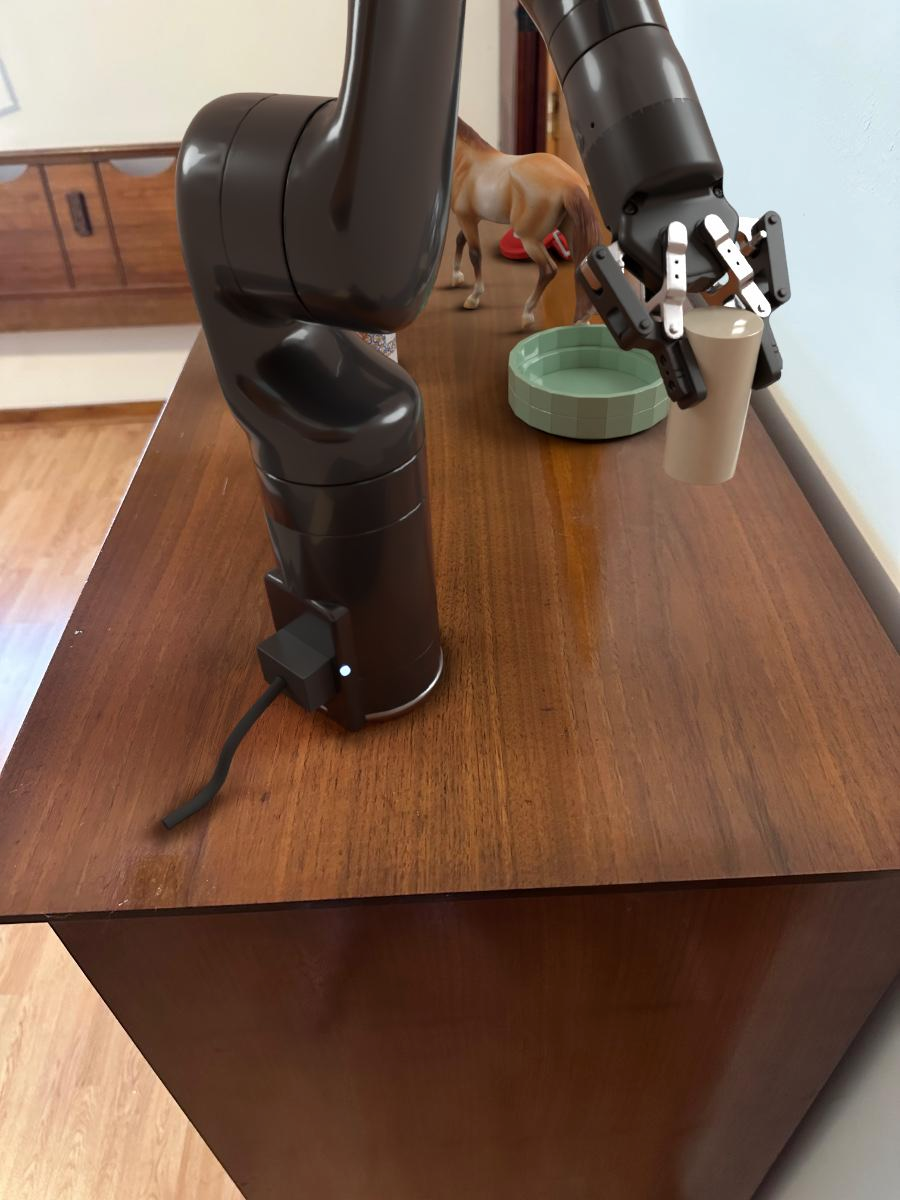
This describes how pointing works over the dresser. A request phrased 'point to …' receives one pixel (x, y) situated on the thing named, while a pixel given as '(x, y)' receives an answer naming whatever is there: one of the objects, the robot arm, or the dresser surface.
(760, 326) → the beige cylinder
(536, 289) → the horse figurine
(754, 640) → the dresser surface
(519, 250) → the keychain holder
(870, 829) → the dresser surface
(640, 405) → the bowl
